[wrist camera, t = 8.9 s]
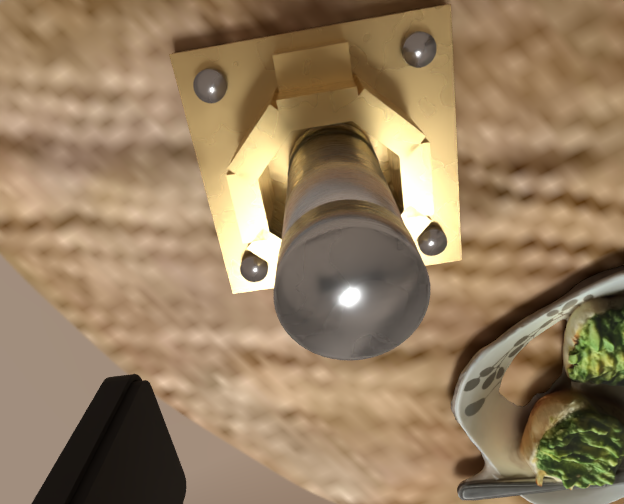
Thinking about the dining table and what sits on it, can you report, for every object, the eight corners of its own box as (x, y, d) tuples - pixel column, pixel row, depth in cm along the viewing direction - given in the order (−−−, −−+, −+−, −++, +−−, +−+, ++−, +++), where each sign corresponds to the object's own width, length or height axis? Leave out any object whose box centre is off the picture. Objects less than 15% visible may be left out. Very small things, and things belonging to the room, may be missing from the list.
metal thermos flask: (371, 114, 23) (424, 213, 13) (380, 199, 25) (435, 349, 14) (281, 129, 24) (258, 238, 13) (297, 212, 25) (289, 369, 15)
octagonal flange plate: (444, 4, 22) (479, 4, 18) (456, 251, 27) (485, 300, 23) (174, 52, 23) (142, 64, 19) (235, 284, 28) (221, 338, 24)
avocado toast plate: (504, 538, 38) (528, 603, 34) (375, 381, 32) (384, 438, 28) (778, 421, 33) (845, 481, 29) (689, 210, 27) (758, 248, 23)
